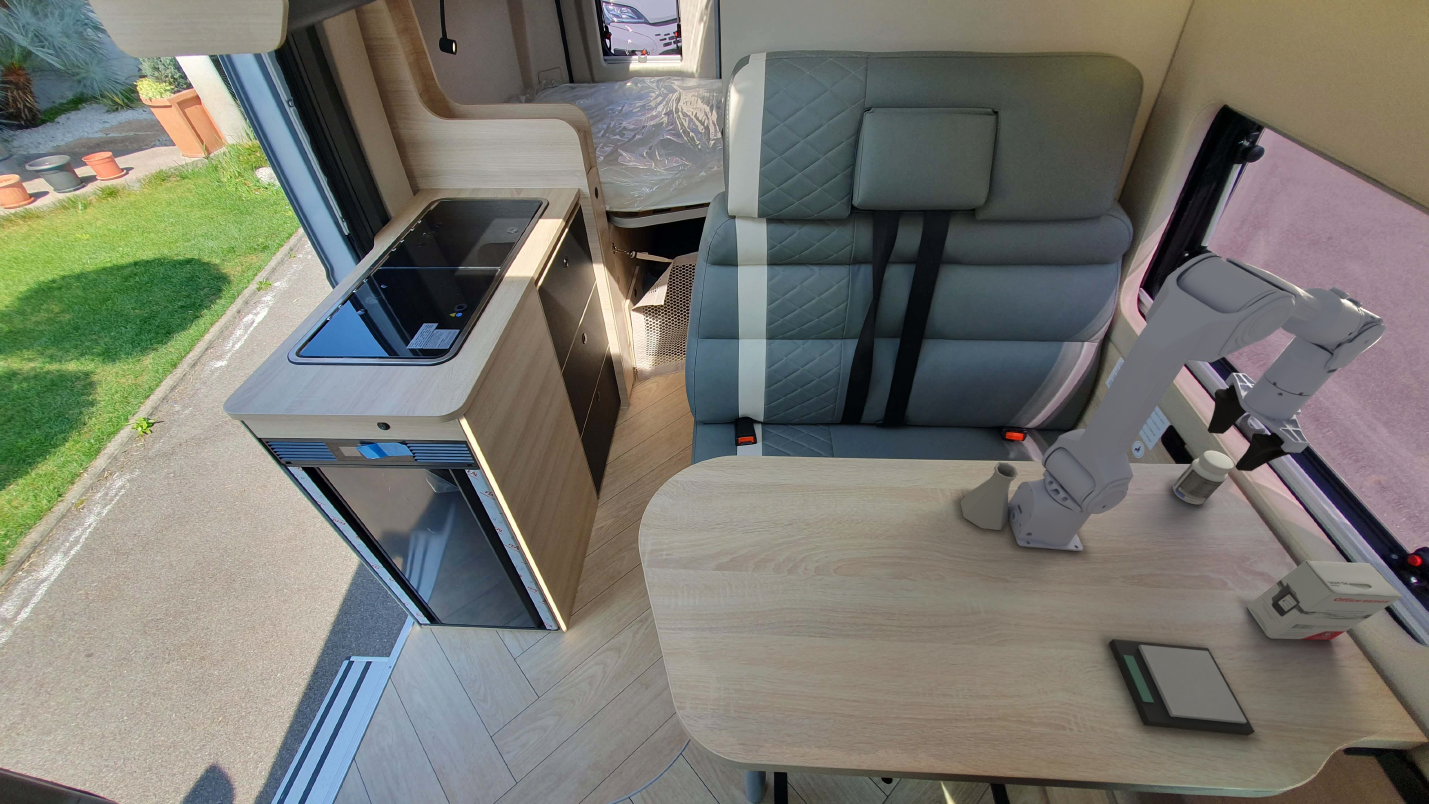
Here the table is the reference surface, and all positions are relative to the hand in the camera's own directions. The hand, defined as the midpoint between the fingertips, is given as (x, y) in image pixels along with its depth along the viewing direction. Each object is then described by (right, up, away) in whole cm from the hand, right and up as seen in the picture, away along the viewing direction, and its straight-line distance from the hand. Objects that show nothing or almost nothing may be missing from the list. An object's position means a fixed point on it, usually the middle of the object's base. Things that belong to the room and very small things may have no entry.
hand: (1228, 449), depth 88 cm
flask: (-36, -10, +4) cm, 37 cm away
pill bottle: (0, -8, +7) cm, 11 cm away
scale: (-21, -28, -16) cm, 39 cm away
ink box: (0, -23, -9) cm, 25 cm away
